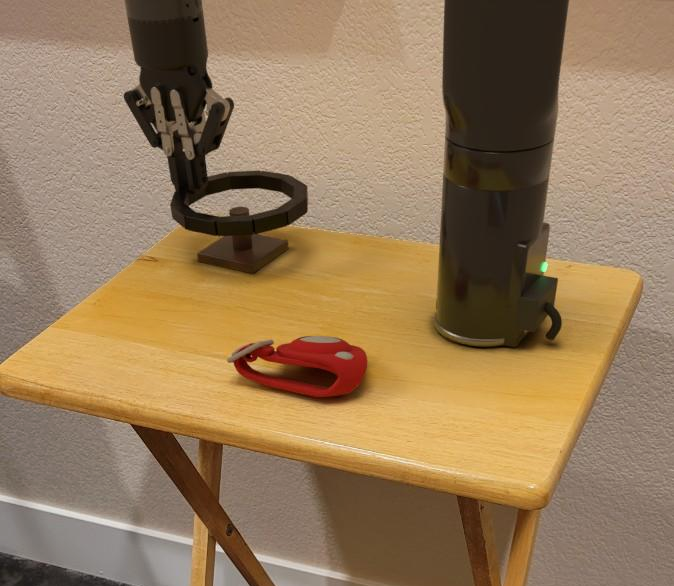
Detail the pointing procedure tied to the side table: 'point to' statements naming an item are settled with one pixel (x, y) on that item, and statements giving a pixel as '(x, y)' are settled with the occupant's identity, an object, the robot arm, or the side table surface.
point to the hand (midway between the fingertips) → (191, 190)
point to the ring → (249, 222)
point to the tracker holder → (306, 363)
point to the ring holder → (243, 249)
